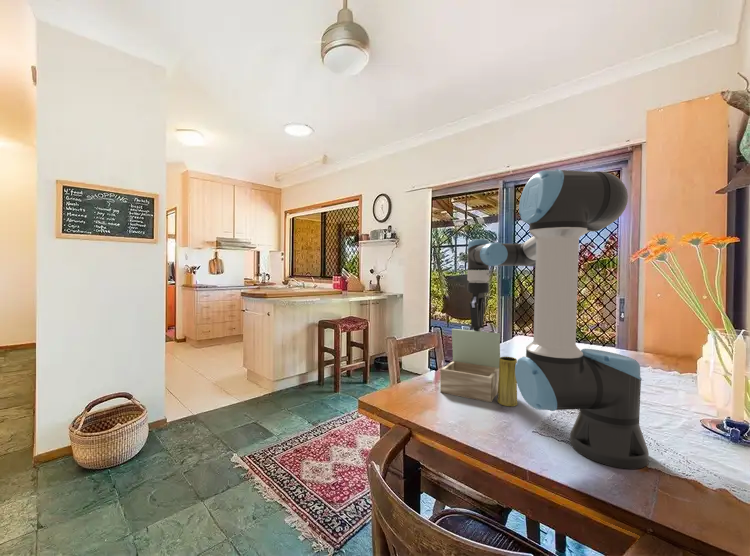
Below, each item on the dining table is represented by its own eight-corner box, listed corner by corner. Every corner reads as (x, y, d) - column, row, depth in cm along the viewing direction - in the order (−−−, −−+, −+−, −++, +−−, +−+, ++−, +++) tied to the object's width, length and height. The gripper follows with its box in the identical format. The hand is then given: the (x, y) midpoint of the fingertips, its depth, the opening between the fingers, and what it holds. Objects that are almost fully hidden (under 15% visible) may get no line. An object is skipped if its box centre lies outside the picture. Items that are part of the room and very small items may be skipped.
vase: (514, 399, 112) (515, 356, 111) (520, 407, 105) (521, 361, 105) (495, 398, 112) (495, 355, 112) (500, 406, 106) (500, 360, 106)
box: (491, 402, 109) (491, 377, 109) (440, 392, 118) (440, 369, 118) (499, 390, 120) (499, 367, 120) (452, 381, 129) (452, 360, 129)
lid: (499, 333, 118) (499, 333, 119) (451, 329, 127) (452, 328, 127) (499, 367, 120) (500, 367, 121) (452, 360, 129) (453, 360, 129)
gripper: (484, 282, 117) (482, 350, 118) (492, 281, 129) (491, 343, 129) (462, 282, 121) (461, 347, 122) (472, 281, 132) (471, 341, 133)
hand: (476, 345), depth 126 cm, fingers closed
